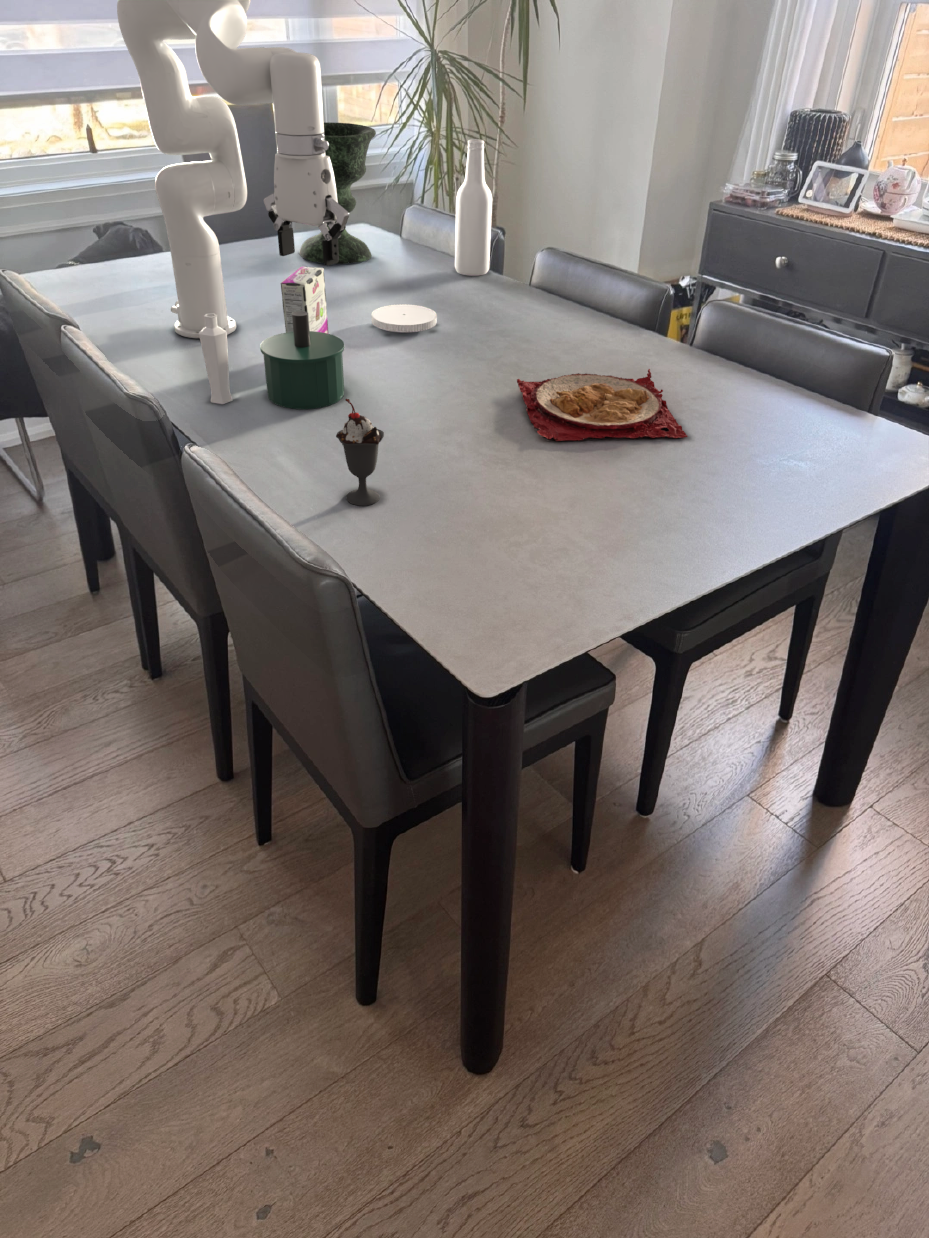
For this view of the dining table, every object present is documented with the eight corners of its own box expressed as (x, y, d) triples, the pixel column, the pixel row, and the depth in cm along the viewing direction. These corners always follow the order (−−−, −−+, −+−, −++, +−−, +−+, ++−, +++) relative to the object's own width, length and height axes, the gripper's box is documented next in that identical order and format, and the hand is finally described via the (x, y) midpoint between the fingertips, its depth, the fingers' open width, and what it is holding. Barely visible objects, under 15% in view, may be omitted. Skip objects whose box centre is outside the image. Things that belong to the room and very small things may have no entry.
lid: (245, 359, 158) (240, 320, 154) (285, 333, 169) (282, 296, 165) (321, 371, 154) (319, 332, 150) (358, 344, 165) (356, 307, 161)
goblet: (342, 273, 229) (335, 139, 212) (274, 257, 239) (263, 128, 221) (394, 255, 244) (392, 128, 227) (329, 241, 254) (322, 119, 236)
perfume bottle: (239, 397, 164) (229, 313, 155) (226, 406, 161) (215, 320, 152) (217, 393, 165) (206, 309, 157) (204, 402, 162) (191, 317, 153)
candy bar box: (306, 349, 185) (300, 265, 175) (330, 352, 184) (325, 267, 174) (287, 369, 176) (279, 281, 166) (312, 372, 175) (305, 284, 165)
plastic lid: (398, 341, 190) (398, 329, 188) (358, 324, 198) (358, 312, 197) (449, 328, 198) (450, 316, 196) (409, 312, 206) (409, 300, 204)
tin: (254, 402, 163) (248, 355, 158) (290, 375, 173) (286, 331, 168) (323, 414, 159) (320, 366, 154) (356, 386, 170) (354, 341, 165)
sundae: (340, 487, 138) (335, 392, 129) (385, 487, 138) (382, 392, 129) (339, 509, 132) (333, 411, 124) (385, 508, 133) (383, 411, 124)
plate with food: (515, 388, 172) (516, 371, 170) (649, 383, 174) (651, 365, 172) (538, 445, 153) (540, 426, 151) (687, 438, 155) (691, 419, 153)
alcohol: (457, 265, 238) (460, 136, 220) (491, 268, 237) (496, 138, 219) (452, 275, 231) (454, 142, 213) (486, 277, 230) (492, 144, 212)
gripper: (359, 148, 142) (363, 263, 152) (276, 137, 150) (285, 246, 160) (327, 155, 137) (334, 273, 147) (243, 142, 145) (255, 255, 155)
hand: (309, 259), depth 153 cm, fingers open, 9 cm apart
